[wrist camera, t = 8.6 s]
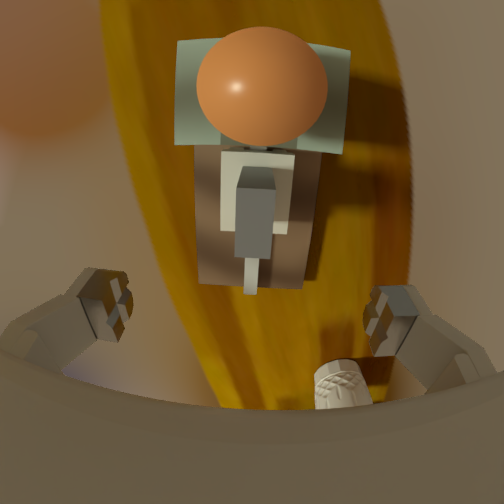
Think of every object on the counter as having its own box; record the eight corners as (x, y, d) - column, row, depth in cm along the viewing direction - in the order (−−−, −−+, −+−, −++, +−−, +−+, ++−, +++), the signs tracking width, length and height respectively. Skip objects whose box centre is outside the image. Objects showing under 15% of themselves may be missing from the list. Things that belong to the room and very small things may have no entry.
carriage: (225, 146, 20) (206, 167, 13) (291, 150, 20) (307, 173, 13) (223, 218, 23) (208, 270, 16) (284, 221, 23) (294, 275, 16)
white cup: (369, 372, 36) (385, 428, 27) (323, 392, 39) (332, 447, 30) (351, 347, 33) (368, 411, 24) (299, 371, 36) (306, 434, 27)
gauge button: (215, 47, 11) (199, 27, 8) (312, 53, 11) (330, 34, 8) (211, 135, 14) (194, 144, 10) (306, 140, 14) (322, 151, 10)
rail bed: (200, 64, 18) (168, 41, 11) (324, 71, 18) (359, 52, 11) (201, 274, 28) (183, 334, 21) (300, 280, 28) (311, 342, 21)
